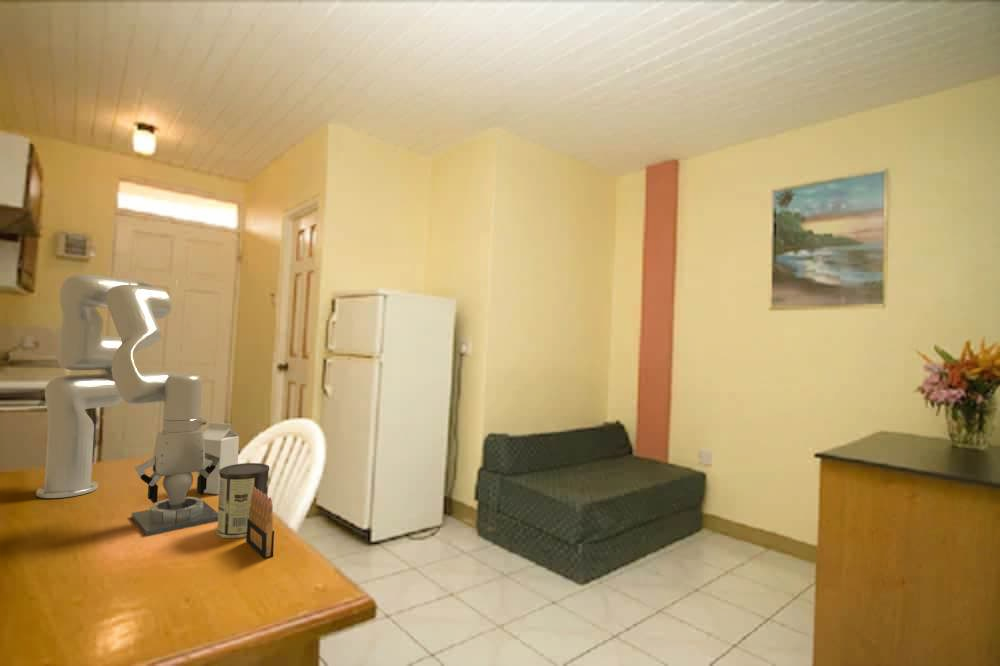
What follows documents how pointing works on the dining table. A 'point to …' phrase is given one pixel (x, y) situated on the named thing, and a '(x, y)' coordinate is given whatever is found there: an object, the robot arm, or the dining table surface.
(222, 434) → the milk carton
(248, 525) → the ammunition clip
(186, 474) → the lightbulb
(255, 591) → the dining table surface
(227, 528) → the coffee can
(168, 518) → the ring collar
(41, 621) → the dining table surface
